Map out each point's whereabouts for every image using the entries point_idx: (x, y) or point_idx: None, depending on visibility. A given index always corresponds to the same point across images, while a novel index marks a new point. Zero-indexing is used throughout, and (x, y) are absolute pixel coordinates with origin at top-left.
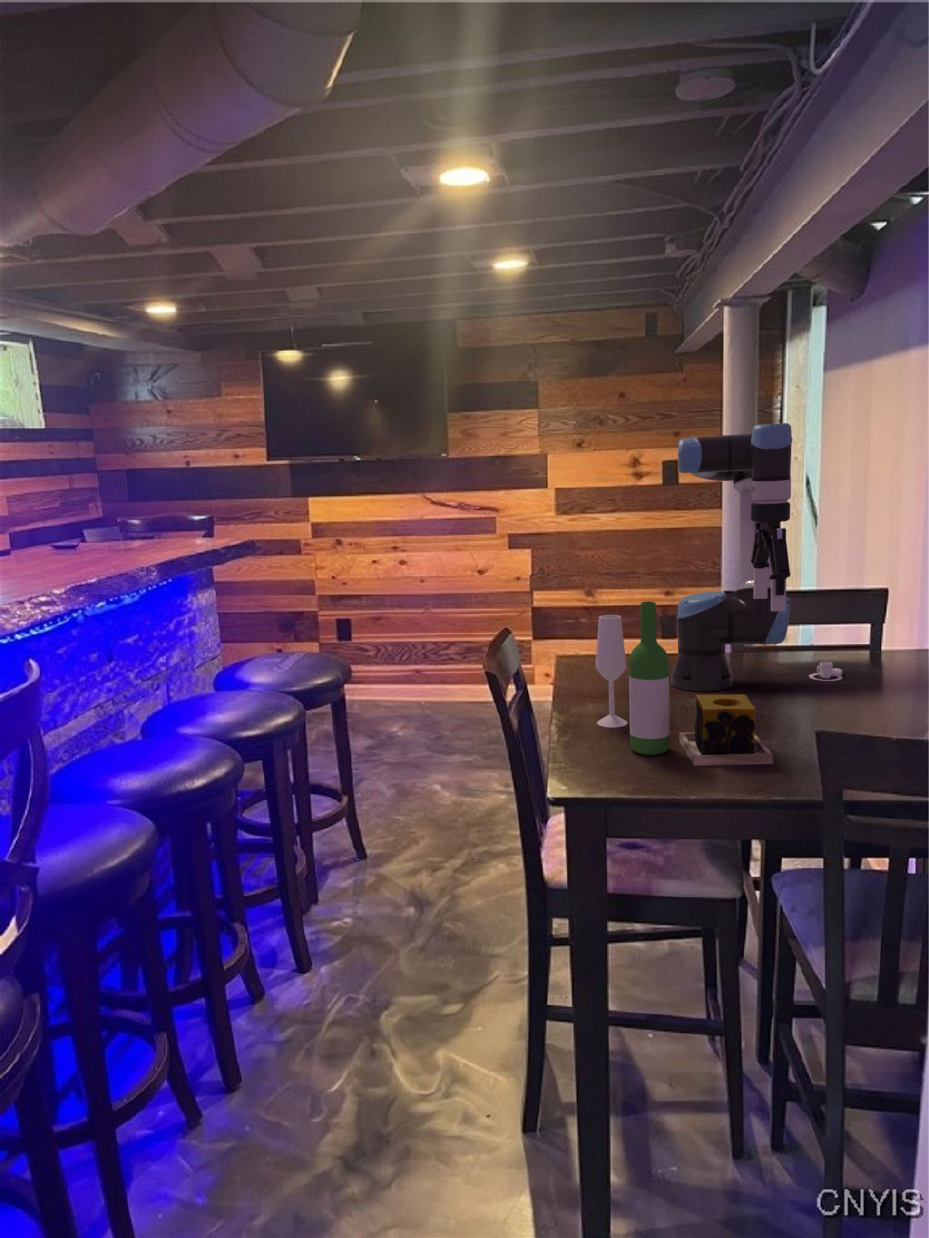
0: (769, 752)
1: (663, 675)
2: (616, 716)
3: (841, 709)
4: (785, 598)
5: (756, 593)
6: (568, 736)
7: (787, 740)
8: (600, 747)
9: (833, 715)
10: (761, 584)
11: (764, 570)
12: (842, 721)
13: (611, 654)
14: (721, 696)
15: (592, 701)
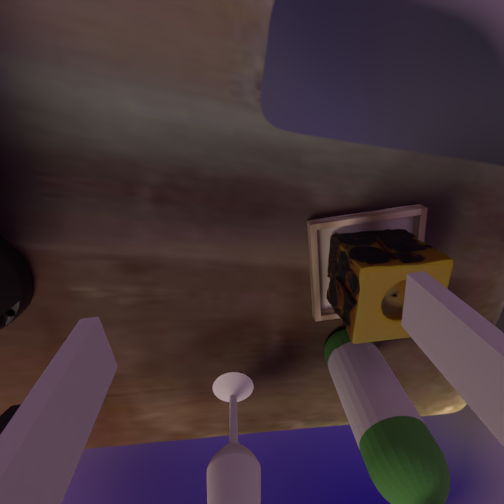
0: (417, 211)
1: (425, 426)
2: (234, 390)
3: (99, 2)
4: (466, 306)
5: (106, 380)
6: (289, 422)
7: (315, 165)
8: (331, 391)
9: (152, 37)
10: (75, 402)
11: (13, 494)
12: (196, 27)
13: (260, 498)
14: (367, 307)
15: (131, 414)
